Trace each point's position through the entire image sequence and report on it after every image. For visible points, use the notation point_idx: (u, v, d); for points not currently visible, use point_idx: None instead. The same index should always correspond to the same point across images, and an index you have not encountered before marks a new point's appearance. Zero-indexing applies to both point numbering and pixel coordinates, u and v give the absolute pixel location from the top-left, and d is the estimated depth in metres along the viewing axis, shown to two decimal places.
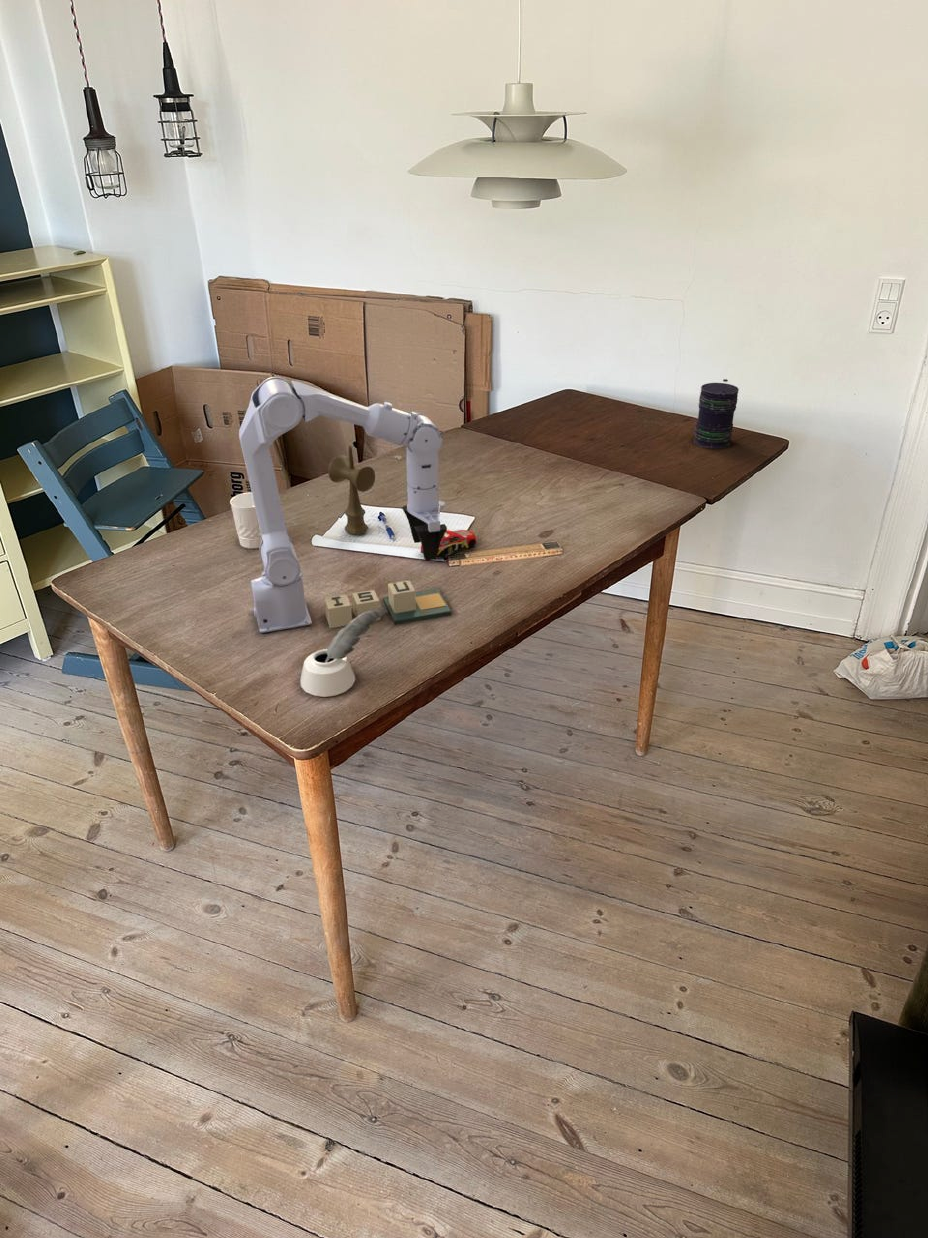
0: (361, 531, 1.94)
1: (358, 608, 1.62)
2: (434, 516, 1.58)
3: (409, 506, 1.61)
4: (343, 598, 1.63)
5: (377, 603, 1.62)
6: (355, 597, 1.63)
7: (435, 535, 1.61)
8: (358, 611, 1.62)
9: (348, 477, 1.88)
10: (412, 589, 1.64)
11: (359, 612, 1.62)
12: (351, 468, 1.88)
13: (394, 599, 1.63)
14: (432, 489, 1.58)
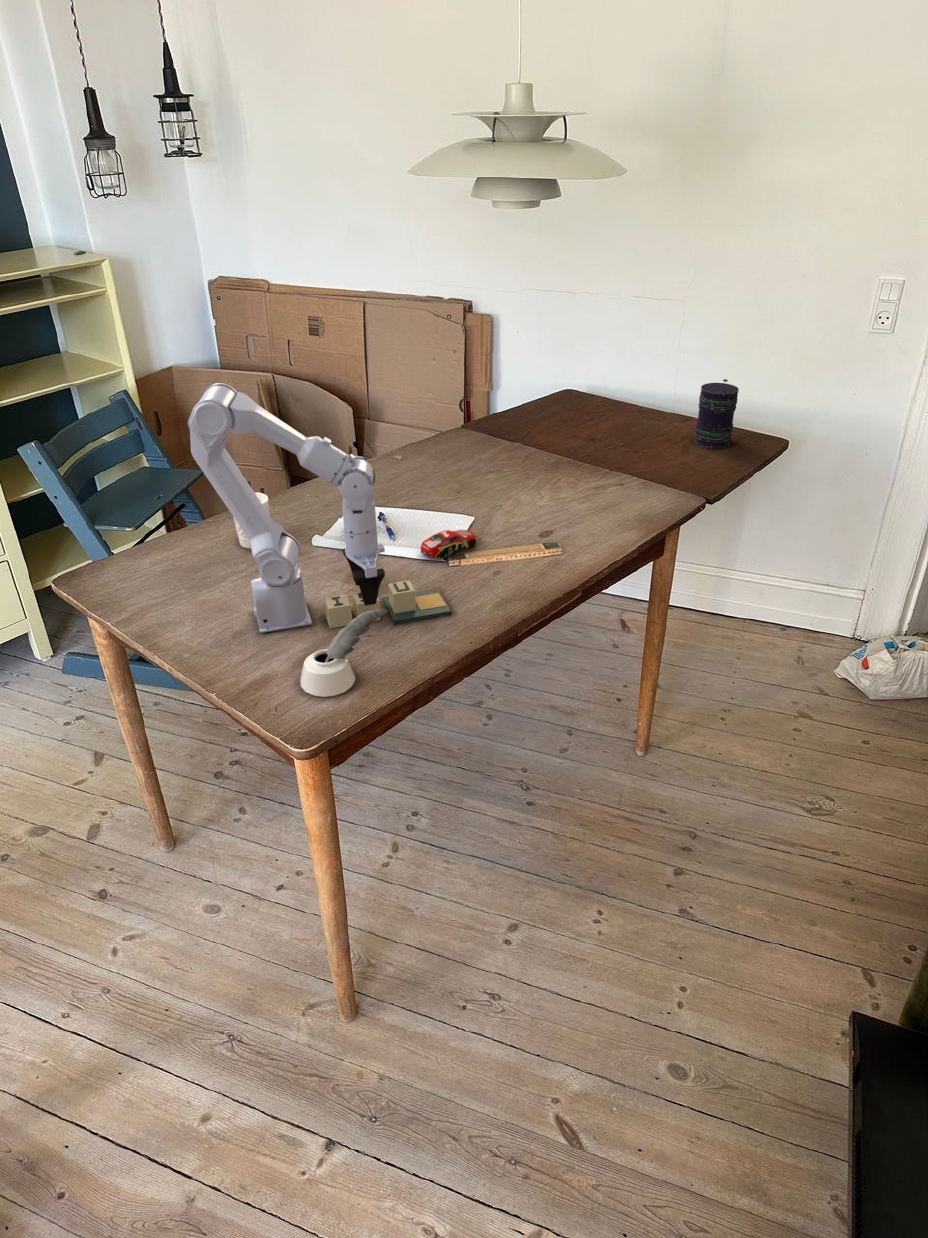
0: None
1: (358, 608, 1.62)
2: (371, 561, 1.55)
3: (347, 550, 1.57)
4: (343, 598, 1.63)
5: (377, 603, 1.62)
6: (355, 597, 1.63)
7: (374, 579, 1.57)
8: (358, 611, 1.62)
9: None
10: (412, 589, 1.64)
11: (359, 612, 1.62)
12: None
13: (394, 599, 1.63)
14: (369, 534, 1.54)
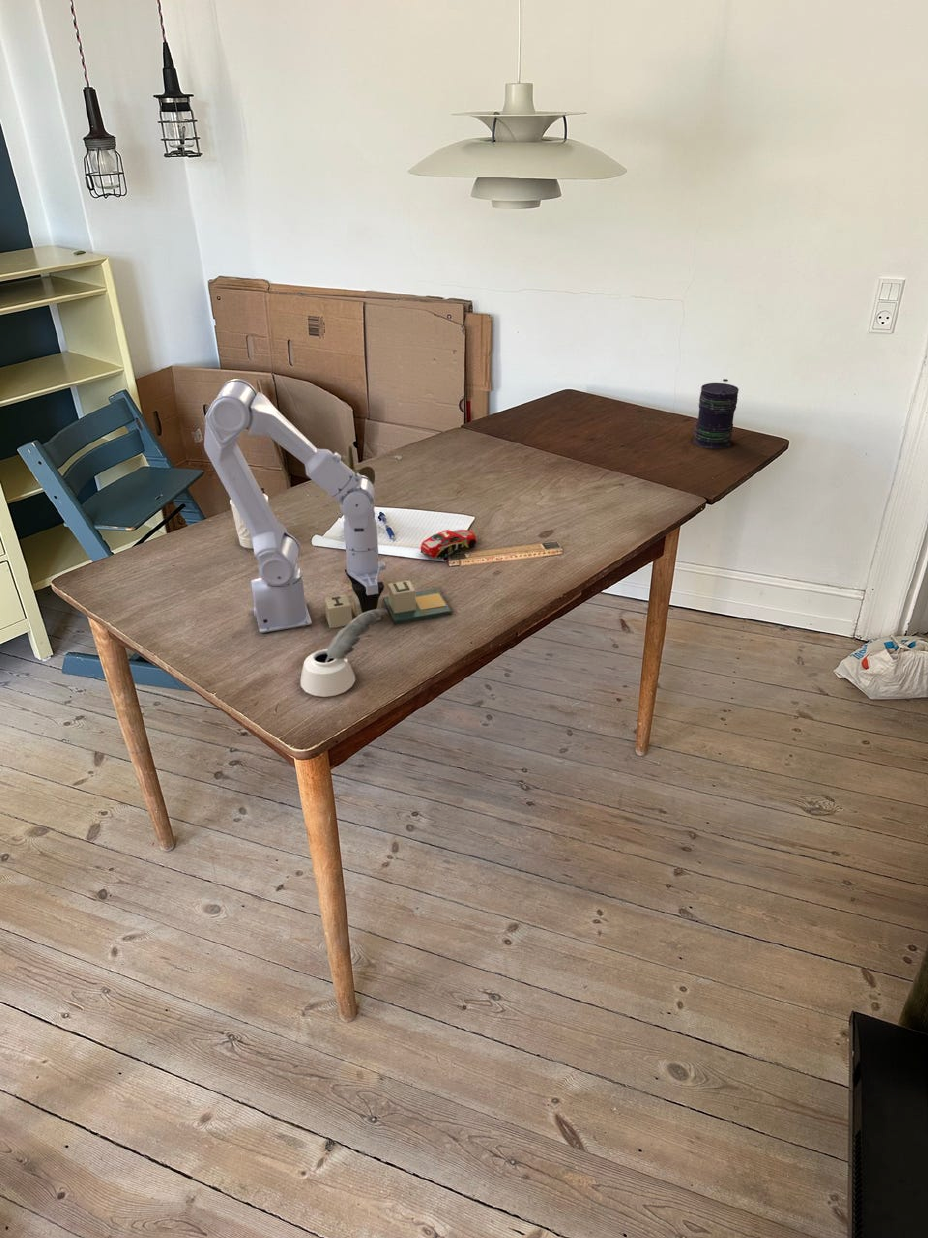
0: None
1: (358, 608, 1.62)
2: (372, 578, 1.57)
3: (348, 567, 1.59)
4: (343, 598, 1.63)
5: (377, 603, 1.63)
6: (355, 597, 1.63)
7: None
8: (358, 611, 1.62)
9: None
10: (412, 589, 1.64)
11: (359, 612, 1.62)
12: (351, 468, 1.88)
13: (394, 599, 1.63)
14: (370, 551, 1.56)
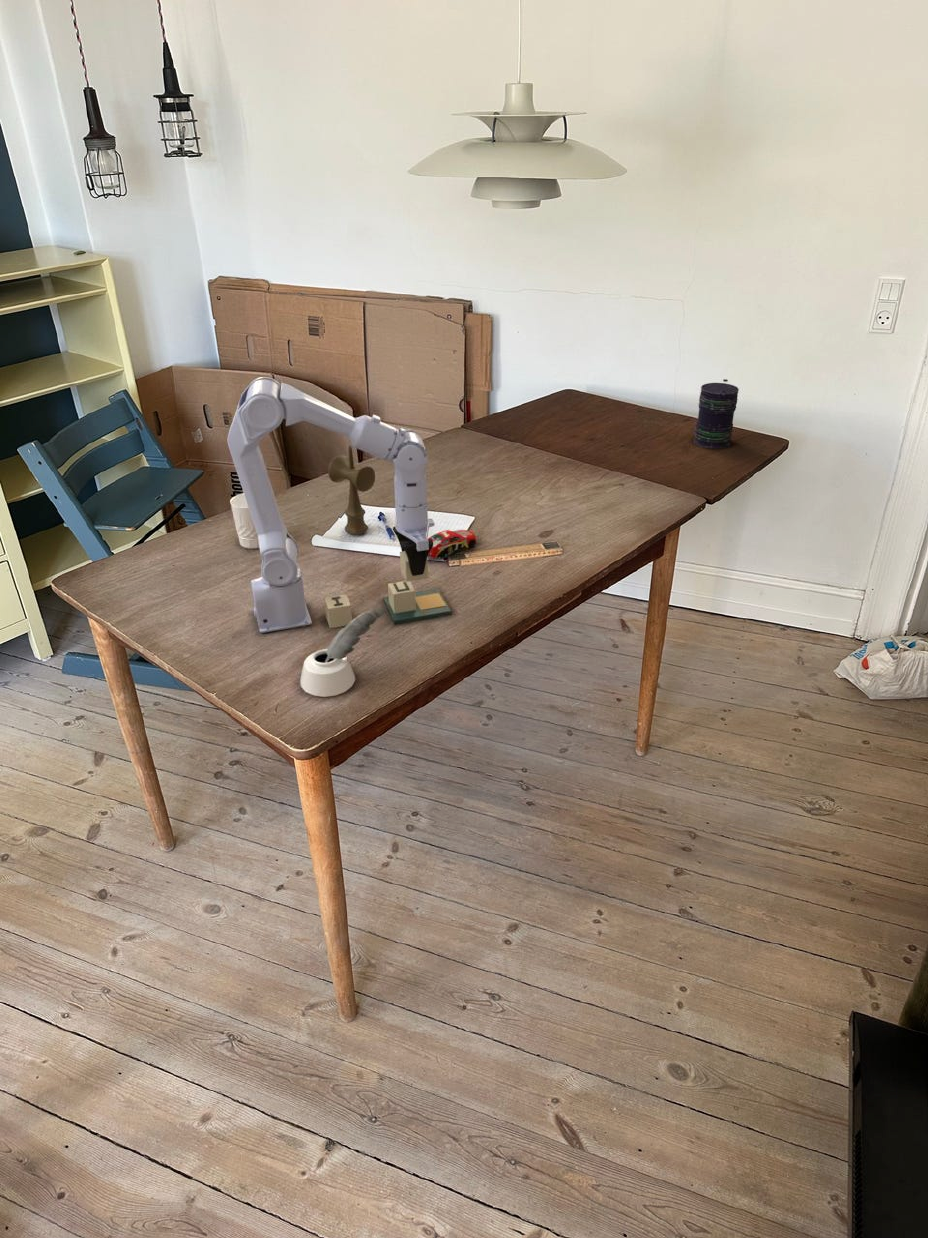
0: (361, 531, 1.94)
1: (406, 566, 1.60)
2: (423, 535, 1.55)
3: (397, 524, 1.57)
4: (343, 598, 1.63)
5: None
6: (403, 555, 1.62)
7: None
8: (406, 569, 1.61)
9: (348, 477, 1.88)
10: (412, 589, 1.64)
11: (407, 570, 1.61)
12: (351, 468, 1.88)
13: (394, 599, 1.63)
14: (420, 507, 1.55)
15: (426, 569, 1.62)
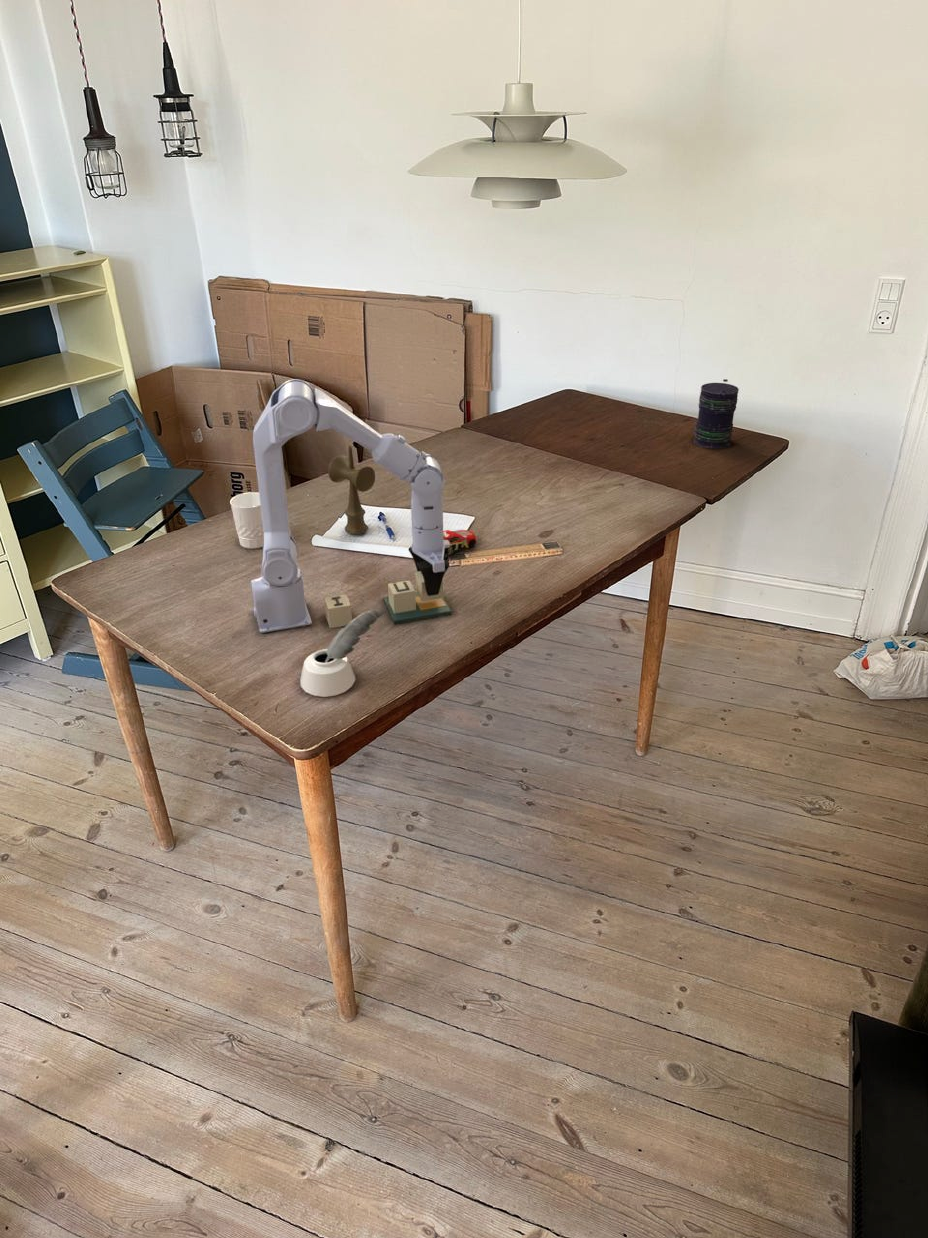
0: (361, 531, 1.94)
1: (422, 586, 1.64)
2: (439, 556, 1.58)
3: (414, 546, 1.61)
4: (343, 598, 1.63)
5: None
6: (419, 575, 1.65)
7: None
8: (422, 589, 1.64)
9: (348, 477, 1.88)
10: (412, 589, 1.64)
11: (423, 590, 1.64)
12: (351, 468, 1.88)
13: (394, 599, 1.63)
14: (437, 529, 1.58)
15: (441, 589, 1.65)
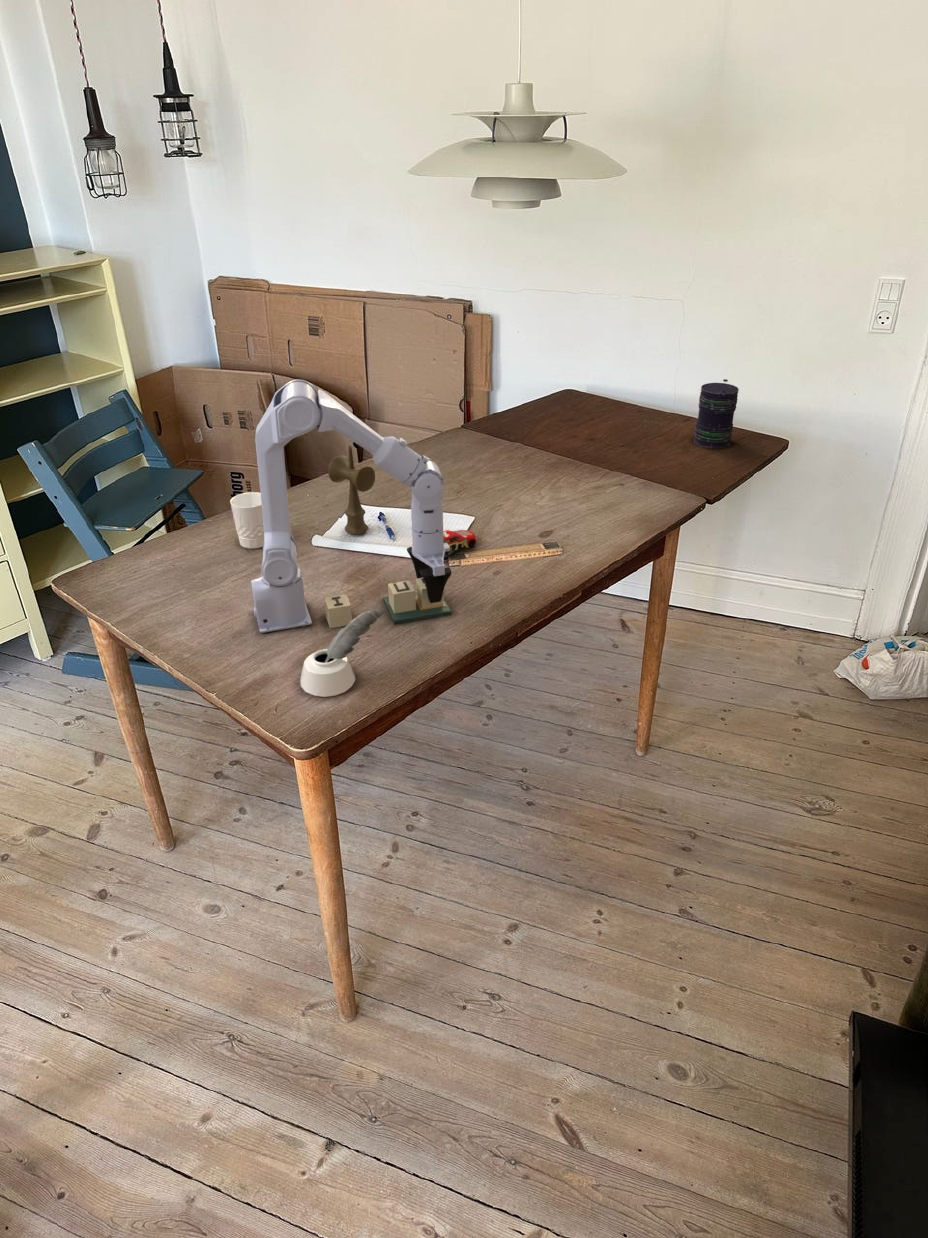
0: (361, 531, 1.94)
1: (423, 593, 1.64)
2: (439, 560, 1.59)
3: (414, 549, 1.61)
4: (343, 598, 1.63)
5: None
6: (419, 582, 1.66)
7: (440, 578, 1.61)
8: (422, 596, 1.65)
9: (348, 477, 1.88)
10: (412, 589, 1.64)
11: (423, 597, 1.65)
12: (351, 468, 1.88)
13: (394, 599, 1.63)
14: (437, 533, 1.58)
15: None
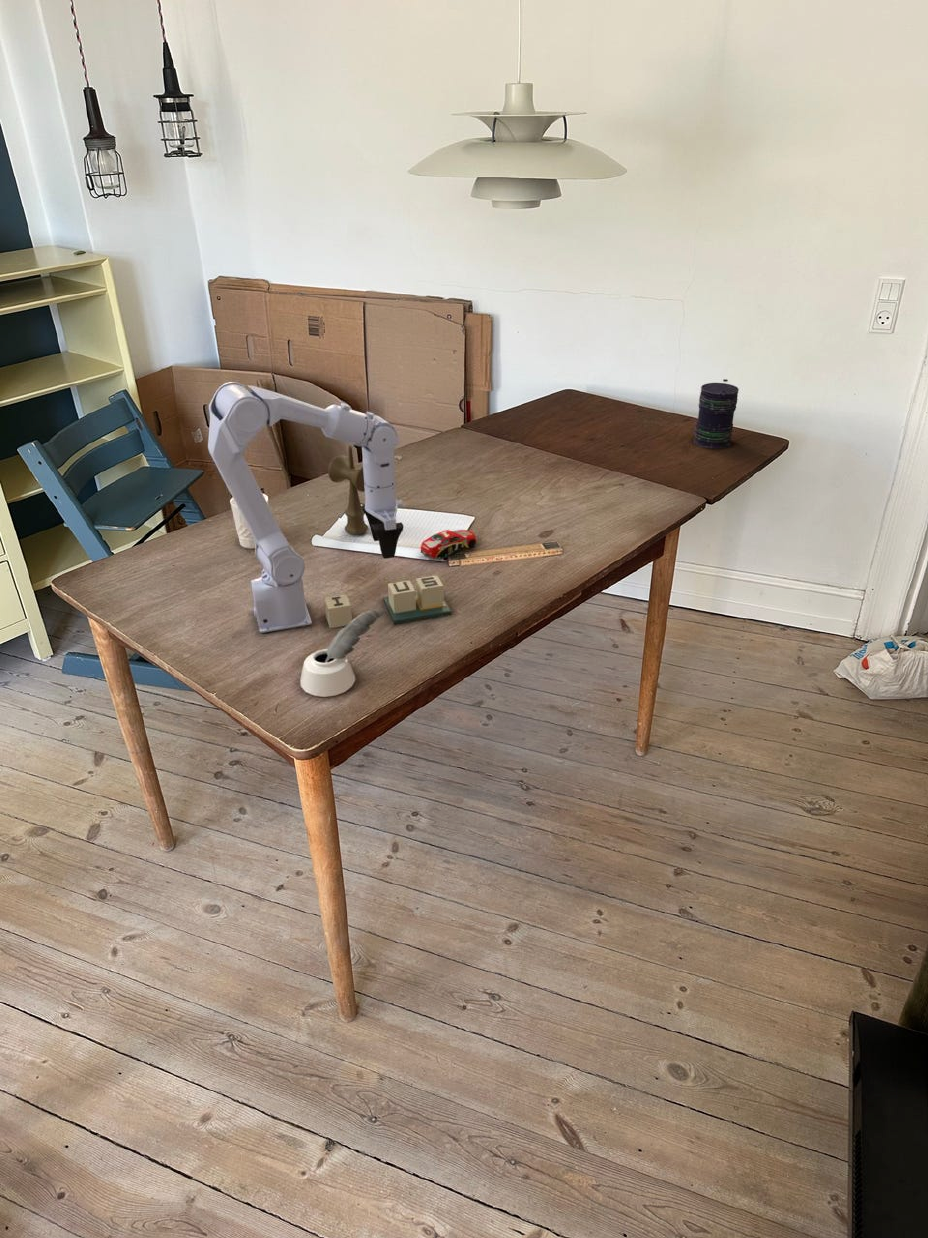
0: (361, 531, 1.94)
1: (423, 593, 1.64)
2: (390, 515, 1.60)
3: (366, 505, 1.62)
4: (343, 598, 1.63)
5: (441, 588, 1.65)
6: (419, 582, 1.66)
7: (392, 533, 1.63)
8: (422, 596, 1.65)
9: (348, 477, 1.88)
10: (412, 589, 1.64)
11: (423, 597, 1.65)
12: (351, 468, 1.88)
13: (394, 599, 1.63)
14: (388, 488, 1.60)
15: (441, 596, 1.66)
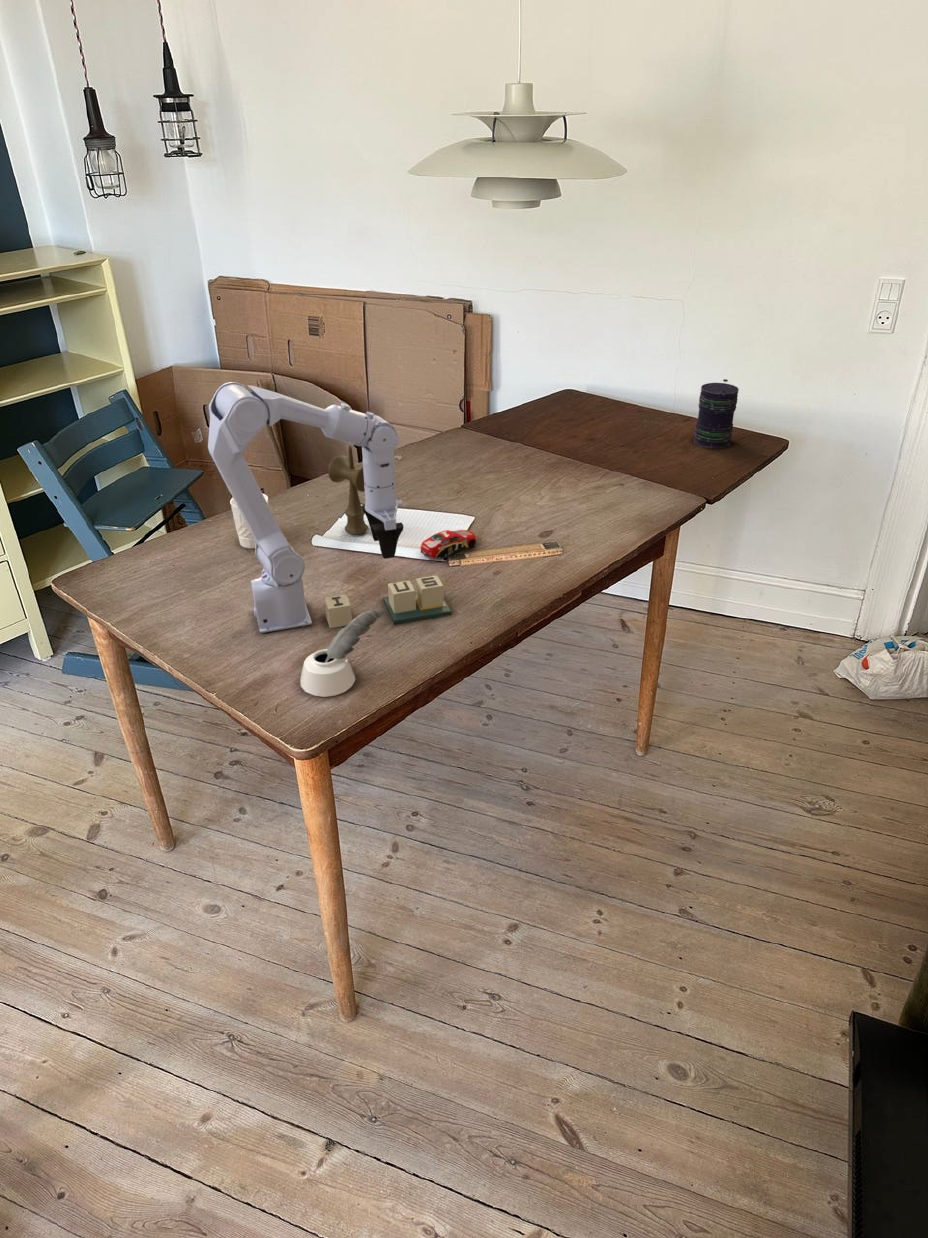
0: (361, 531, 1.94)
1: (423, 593, 1.64)
2: (390, 515, 1.60)
3: (366, 505, 1.62)
4: (343, 598, 1.63)
5: (441, 588, 1.65)
6: (419, 582, 1.66)
7: (392, 533, 1.63)
8: (422, 596, 1.65)
9: (348, 477, 1.88)
10: (412, 589, 1.64)
11: (423, 597, 1.65)
12: (351, 468, 1.88)
13: (394, 599, 1.63)
14: (388, 488, 1.60)
15: (441, 596, 1.66)
